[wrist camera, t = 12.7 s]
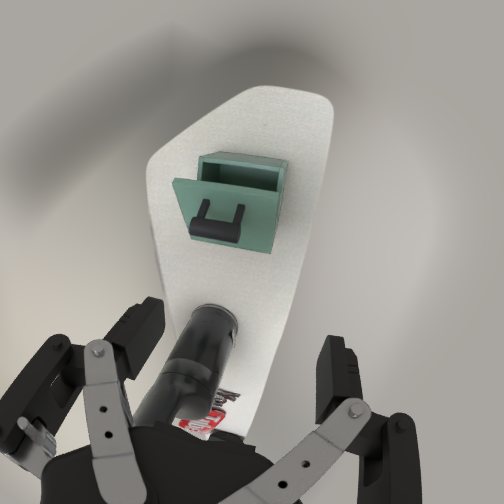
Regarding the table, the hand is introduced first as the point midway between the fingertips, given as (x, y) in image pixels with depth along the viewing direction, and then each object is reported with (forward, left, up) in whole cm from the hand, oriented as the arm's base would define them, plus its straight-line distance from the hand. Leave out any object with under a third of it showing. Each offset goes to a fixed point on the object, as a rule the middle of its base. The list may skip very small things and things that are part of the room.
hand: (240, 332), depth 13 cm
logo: (-55, -21, -26) cm, 64 cm away
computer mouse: (-64, -40, -26) cm, 79 cm away
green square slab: (-3, +4, -18) cm, 19 cm away
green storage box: (-3, +4, -30) cm, 31 cm away
